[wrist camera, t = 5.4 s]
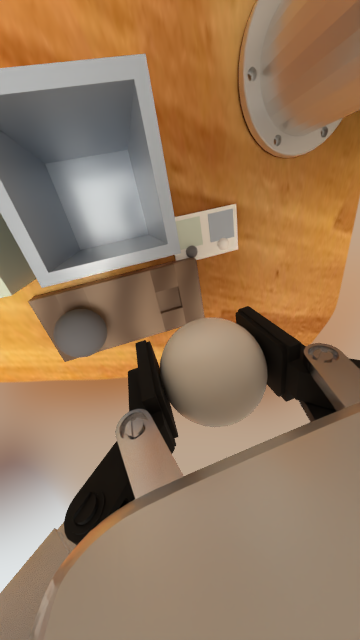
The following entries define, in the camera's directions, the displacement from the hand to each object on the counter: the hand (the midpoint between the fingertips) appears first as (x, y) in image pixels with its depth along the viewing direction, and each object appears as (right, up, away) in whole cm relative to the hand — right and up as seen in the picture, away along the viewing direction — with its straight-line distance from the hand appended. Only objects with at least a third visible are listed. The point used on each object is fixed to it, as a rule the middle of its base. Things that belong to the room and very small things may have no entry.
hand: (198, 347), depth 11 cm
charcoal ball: (-11, 0, +9) cm, 15 cm away
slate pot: (-9, +13, +8) cm, 17 cm away
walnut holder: (-7, +3, +13) cm, 16 cm away
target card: (+2, +11, +12) cm, 17 cm away
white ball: (0, -1, -2) cm, 2 cm away
